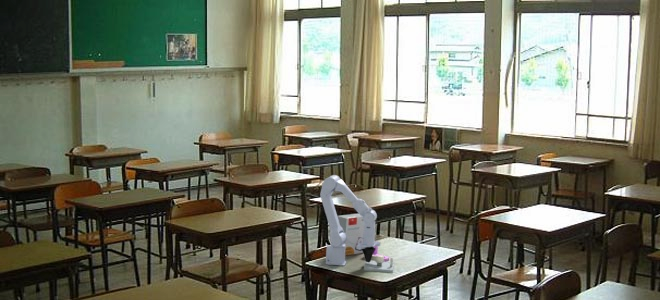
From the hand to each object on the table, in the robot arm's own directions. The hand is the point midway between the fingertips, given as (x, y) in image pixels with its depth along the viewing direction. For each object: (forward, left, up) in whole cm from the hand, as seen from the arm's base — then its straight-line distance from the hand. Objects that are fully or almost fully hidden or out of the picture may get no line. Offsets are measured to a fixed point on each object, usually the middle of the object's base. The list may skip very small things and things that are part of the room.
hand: (367, 261), depth 400 cm
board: (+6, 0, -3) cm, 6 cm away
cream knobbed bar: (+3, +2, 0) cm, 4 cm away
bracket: (+4, +18, -3) cm, 19 cm away
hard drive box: (-11, +25, -3) cm, 28 cm away
